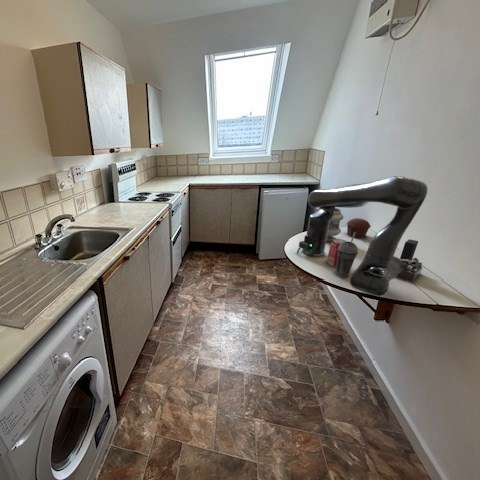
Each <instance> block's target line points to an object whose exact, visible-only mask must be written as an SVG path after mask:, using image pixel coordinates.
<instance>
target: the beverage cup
mask: <svg viewBox="0 0 480 480" xmlns="http://www.w3.org/2000/svg"><path fill="white" fill-rule="evenodd" d="M355 233H356V232H354V234H353V237H351V239H350V241H347V242H343V243H342V244H340V245H339V247H338V249H337V250H338V257H337V265H336V267H335V275H336V276H338V277H340V278H347V277H348V276H349V274H350V272H351V269H352V267H353V265H354V261H355V259H356V258H357V255H358V254H359V252H358V251H359V250H358V249H359V248H358V246H357V245H356V243H354V242H353V241H354V239H355V237H354V236H355Z"/></svg>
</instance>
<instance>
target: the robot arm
mask: <svg viewBox="0 0 480 480" xmlns="http://www.w3.org/2000/svg"><path fill="white" fill-rule="evenodd" d="M428 189H429V188H428V185H427V184H426V183H425V181H421V180H417V179H415V178H410V177H406V176H402V175H393V176H389V177H385V178H382V179H378V180H374V181H371V182H370V181H369V182H362V183H354V184H348V185H344V186H338V187H333V188H323V189H314V190H313V191H311V192H310V193H309V195H308V197H307V203H308V205H309V207H311V208H313V209H314V210H315V209H316V210H317V211H316V212H314V213H311V214H310V216H309V218H308V223H307V229H306V234H305V235H304V240H300V241H299V242H298V249H297V251H296V254H300V253H299V252H300V250H301V249H302V250H301V252H302V253H303V254H306V255H308V256H310V257H322V256H324V255H325V250H326V245H327V242H326V240H327V235H328V231H329V226H330V221H331V219H332V217H333V214H334V210H335V208H348V209H349V208H351V209H352V208H361V207H364V206H366V205H368V204H369V203H381V204H385V205H389V206H394V207H396V211H395V214H394V216H393V217H392V219H391V220H389V222H388V223H387V224H385V226H384V227H382V228H381V229H380V230H379V231H378V232H377V233H376V234H375V235H374V236H373V237H372V239H371V240H370V242H369V245H368V247H367V250H366V253H365V255H364V258H363V260H362V261H361V263H360V264H359V265H358V266H357V268H356V269H355V270H354V272H353V273H352V274H351V276H350V277H349V285H350V286H351V287H352V288H353V289H356V290H358V291H361V292H364V293H366V294H370V295H373V296H376V297H381V296H385V294H386V293H387V292H388V290H389V287H390V281H391V280H393V279H395V278H396V277H397V276H398V274H399V273H400V272H402V271H403V270H405V269H409V270H411V272H412V273H415V272H417V271H418V270H420V268H421V266H422V265H423V262H420V261H419V259H418V257H413V259H412V260H408V259H400V257H397V256H395V253H396V250H397V248H398V246H399V244H400V241H401V239H402V237H403V236H404V234H405V232H406V231H407V229H408V228H409V226H410V225H411V223H412V221H413V220H414V218H415V216H416V215H417V213H418V211H419V210H420V209H421V207H422V205H423V203H424V201H425V199H426V198H427V195H428ZM410 263H411V265H410Z"/></svg>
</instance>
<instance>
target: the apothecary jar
mask: <svg viewBox="0 0 480 480" xmlns="http://www.w3.org/2000/svg"><path fill="white" fill-rule="evenodd" d="M342 220H344V215H343V213H342V209H341V208H339V207H335V210H334V214H333V217H332V219H331V221H330V226H329V231H328V235H327V240H326V243H332V242H333V240H334V239H337V238H336V237H335V236H338V235H340V234H341V232H342V230H341V228H340V223H341V221H342Z"/></svg>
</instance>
